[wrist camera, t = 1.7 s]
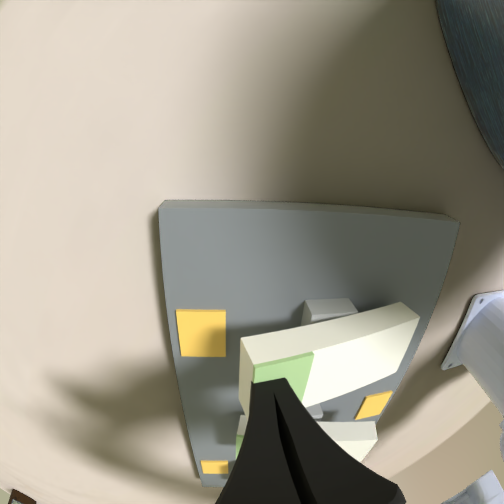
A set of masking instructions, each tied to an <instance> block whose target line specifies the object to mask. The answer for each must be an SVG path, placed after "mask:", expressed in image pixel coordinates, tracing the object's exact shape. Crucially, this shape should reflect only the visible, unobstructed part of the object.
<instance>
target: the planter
mask: <svg viewBox="0 0 504 504" xmlns="http://www.w3.org/2000/svg"><path fill="white" fill-rule="evenodd" d="M436 5H437V10H438V14H439V19H440V23H441V27H442V31H443V34H444V37H445V41H446V44H447V47H448V50H449V54H450V57H451V60H452V63H453V66H454V68H455V71H456V74H457V77H458V80H459V82H460V85H461V87H462V90H463V93H464V95H465V98H466V100H467V103H468V105H469V108H470V110H471V112H472V115H473V117H474V119H475V121H476V123H477V126H478V128H479V130H480V132H481V134H482V136H483V138H484V140H485V142H486V144H487V145H488V147H489V149H490V151H491V152H492V154H493V156H494V157H495V159H496V160H497V162H498V163H499V164H500V166H501V167H502V168H503V170H504V0H436Z"/></svg>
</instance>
